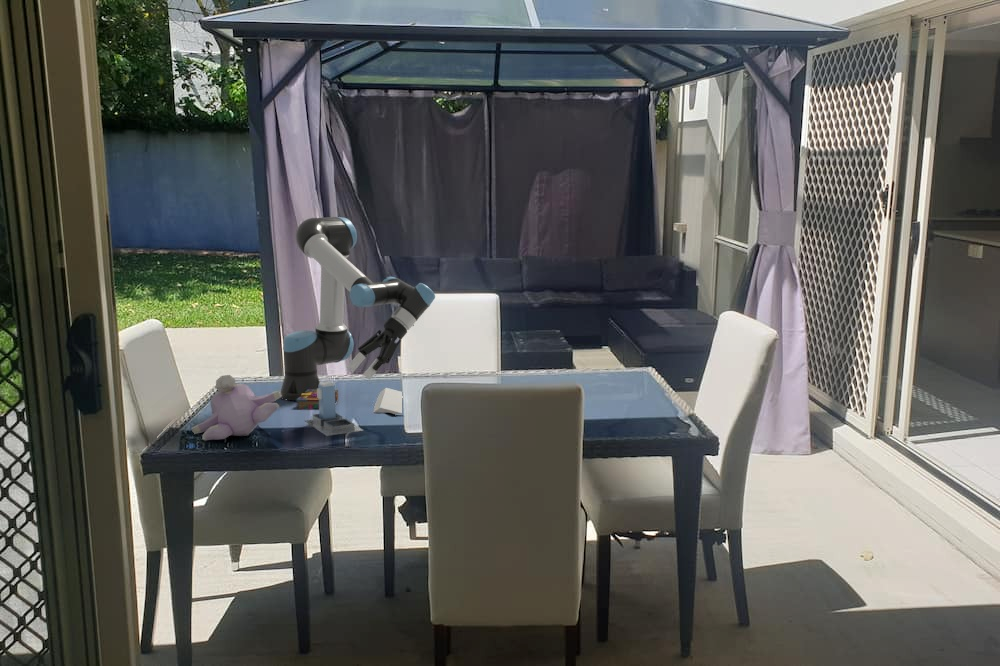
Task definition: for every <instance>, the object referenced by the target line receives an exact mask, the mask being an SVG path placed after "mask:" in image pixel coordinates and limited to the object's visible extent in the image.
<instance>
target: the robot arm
mask: <svg viewBox="0 0 1000 666" xmlns="http://www.w3.org/2000/svg"><path fill="white" fill-rule="evenodd" d="M295 241H296V244H297V247H298V248H299V250H300V251H301V252H302V253H303V254H304V255H305V256H306V257H307V258H309V259H314V260H315V261H316V262H317V263H318V264H319V265H321V266H320V299H319V300H320V301H319V302H320V305H319V306H320V309H319V322H318V324H317V325H316V326H315V331H313V330H302V331H301V330H300V331H299V330H298V331H294V332H291V333H288V334H287V335H285V337H284V339H283V347H282V350H283V362H284V363H283V365H284V366H283V369H284V378H283V381H282V384H281V388H280V390H279V391H280V392H279V393H281V395H282V397H280V399H282V398H283V399H282V400H284V399H287V400H286V401H290V400H296V399H298V398H299V397H301V394H302V393H305V391H306V390H307V389H315V390H317V388H318V385H319V383H321V381H320V378H319V375H318V366H321V365H328V364H332V363H334V364H335V363H339V362H343V361H345V360H347V359H348V358H349V357H351V355H352V353H353V350H354V345H355V343H354V338H353V337H352V333H351V332H350V331H348V327H347V326H346V324H345V323H344V317H345V316H344V314H345V313H344V312H345V310H344V309H345V289H346V290H347V291H348V292H349V299H350V300H351V303H352V305H353V306H355V307H357V308H368V307H374V306H381V305H382V306H383V305H389V304H390V305H391V304H397V305H399V306H398V307H397V308H396V309H395V310H394V312H393V313H391V317H389V318H388V319H387V320H385V323H384V324H383V327H384V330H383V331H382V330H380V329H379V330H377V331H376V332H375V334H374V335H372V336H371V337H370V338H369V339H367V340H366V341H365V342H364V343H362V344H361V345H360V346H359V347H358V348H357V349H358V353H357V354H356V355H355V356H354V358H353V359H352V360H351V361H350V362H349V363H348V365H347V366H346V368H347V369H349V370H350V372H351V373H354V372H355V371H356V370H357V368H358V367H359V366H360V365H361V364H362V362H363V361H364V360H365V359H367V356H368V355H369V354H370V353H372V352H373V351H375V350H377V349H379V348H380V352H379V355H378V356H377V357H376V358H375V359H374V360H373V362H371V364H370V365H369V366H368V368H367V369H366V370H365V371H364V372H363V374H362V375H363V376H364V377H365V378H367V379H368V380H369V381H370V380H371V379H372V378H373V376H375V374H376V373H377V372H378V370H380V368H381V367H382V366H383V365H385V364H389V363H390V362H391V359H392V357H393V355H394V354H395V351H396V349H397V348H398V346H399V344H400V343H401V342H402V340H403V338H404V337H405V336H406V335H407V333H408V331H409V330H410V329H411V328H412V327H414V326H415V323H416V322H417V321H418V320H419V319H420V317H421V316H422V315H423V314H424V313H425V312H426V310H427V309H429V307H430V306H431V304H432V303H433V301H435V299H436V294H435V292H434V291H433V290H432V289H431V288H430V287H429V286H428V285H426V284H424V283H422V282H419V283H418V284H417V285H415V286H412V285H410V284H409V283H406V282H405V281H403V280H402V279H400V278H397V277H394V276H387V277H386V278H385V279H383V280H381V281H380V282H379V281H378V282H373V281H372V280H371V279H369V277H367V276H366V275H365V274H364V273H363V272H362V271H361V270H360V269H358V268H357V267H356V265H354V264H353V263H352V262H351V261H349V260H348V259H347V258H349V256H351V255H350V254H351V253H350V250H352V249H354V247H355V246H356V244H357V241H358V234H357V229H356V227H355V226H354V224H353V222H352V221H351V220H350V219H349V218H346V217H338V216H332V217H331V216H330V217H325V216H324V217H309V218H307V219H305V220H303V221H302V222H301V223H300V224H299V225H298V227H297V229H296V233H295Z"/></svg>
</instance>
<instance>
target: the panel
mask: <svg viewBox="0 0 1000 666" xmlns="http://www.w3.org/2000/svg"><path fill="white" fill-rule="evenodd" d="M304 422H305V423H306V424H308V425H310V426H311V427H313V428H314V429H316V430H317V431H319V432H320V433H321V434H323V435H325V436H326V437H329V436H334V435H342V434H349V433H354V432H360V431H361V432H362V431H364V429H362V428H361V427H360V426H357V425H356V424H355V423H354V422H352V421H351V420H348V419H347V418H344V417H343V416H342V415H341V414H339V413H337V412H336V417H333V418H326V419H321V418H319V413H315V414H312V419H307V420H304Z"/></svg>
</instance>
